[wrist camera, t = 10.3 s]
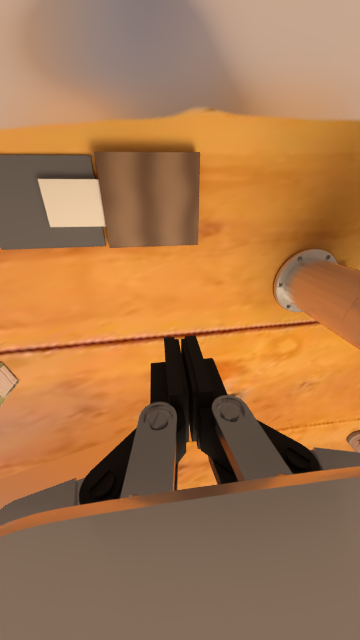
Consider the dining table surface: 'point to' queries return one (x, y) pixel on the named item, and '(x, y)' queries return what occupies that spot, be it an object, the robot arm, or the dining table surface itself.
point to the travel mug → (354, 440)
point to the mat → (40, 202)
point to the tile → (72, 202)
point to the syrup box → (6, 382)
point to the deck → (150, 197)
